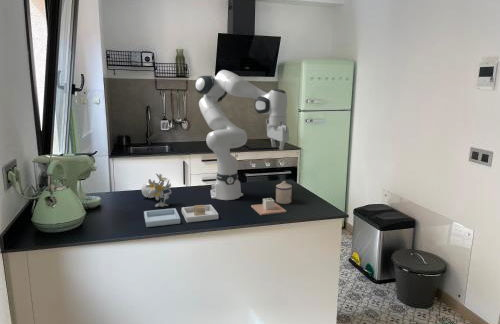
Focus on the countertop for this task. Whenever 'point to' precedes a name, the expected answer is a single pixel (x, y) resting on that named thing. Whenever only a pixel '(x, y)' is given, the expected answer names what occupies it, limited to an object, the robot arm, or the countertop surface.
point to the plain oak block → (199, 210)
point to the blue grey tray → (161, 217)
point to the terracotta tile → (263, 211)
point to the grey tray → (190, 217)
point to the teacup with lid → (283, 193)
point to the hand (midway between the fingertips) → (277, 148)
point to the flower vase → (157, 190)
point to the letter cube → (268, 203)
